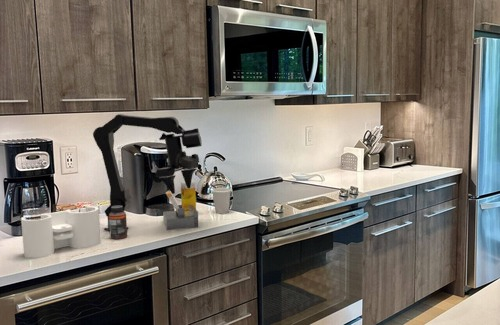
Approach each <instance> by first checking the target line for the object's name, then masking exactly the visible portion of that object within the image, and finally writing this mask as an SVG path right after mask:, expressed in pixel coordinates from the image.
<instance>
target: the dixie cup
mask: <svg viewBox="0 0 500 325" xmlns="http://www.w3.org/2000/svg"><path fill="white" fill-rule="evenodd" d="M231 191H232V189H231V188H227V187H219V188H217V187H216V188H212V190H211V192H212V197H213V199H212V200H213V205H214V212H215V214H219V215H224V214H229V210H230V200H231Z"/></svg>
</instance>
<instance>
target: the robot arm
mask: <svg viewBox="0 0 500 325" xmlns="http://www.w3.org/2000/svg"><path fill="white" fill-rule="evenodd" d="M123 126H129V127H139V128H140V127H141V128H151V129H154V130H158V131H161V132H163V133H162V134H161V136H160V137H159V138H158V140H159V141H163V140H164V141H165V148H166V149H165V150H166V153H165V154H164V156H165V158H167V160H168V164H167V165H166V167H162V168H158V169H157V168H156V170H155V177H156V178H158V179H160V180H161V181H162V182H163V183H164V184H165V186H166V188H167V189H168V191H170V193H171V195H175V194H176V189H175V181H174V180H175V178H176V174H175V173H176V172H179V171H180V172H181V174H182V177H183V179H184V181H185V183H186V186H187V188H190V186H191V180H192V179H193V175H194V173H195V172H196V171H197V170H198V169H197V168H199V167H200V166H199V163H200V158H199V154H197V153H192V154H191V155H187V152H186V151H183V147H185V148H186V149H191V148H198V147H202V146H203V143H202V137H201V134H200V130H199V128H197V127H196V128H193V129H188V130H185V129H184V128H183V127H182V126H181V125H180V122H179V120H178V119H177V117H175V116H163V117H147V116H138V115H129V114H122V113H121V114H120V113H119V114H116V115H115V116H114V117H113V118H112V119H111V120H108V122H105V124H104V125H102V126H99V127H96V128H95V129H94V131H93V133H92V136H93V139H94V141H95V142H94V143H95V144H96V146H97V147H98V149H99V150H100V152H101V155H102V159H103V163H104V166H105V171H106V175H107V179H108V183H109V187H110V192H109V202H110V204H109V206H107V208H106V209H105V210H104V213H105V216H106V217H107V227H105V228H104V230H105V231H109V232H110V224H109V214H110V213H111V207H112V206H117V205H120V206H123V211H124V212H125V210H126V208H127V207H128V206H129V205H130V203H131V199H132V197H131V195H130V189H129V188H125V187H124V185H123V183H122V179H121V176H120V175H121V174H120V170H119V167H118V162H117V159H116V158H117V157H116V155H115V151H114V150H115V149H114V145H115V136H114V135H115V133H116V132H118V131H119V129H121V128H122V127H123ZM166 133H168V134H166ZM128 229H129V227H128V226H127V230H128Z"/></svg>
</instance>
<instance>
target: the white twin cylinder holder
mask: <svg viewBox="0 0 500 325" xmlns="http://www.w3.org/2000/svg"><path fill="white" fill-rule="evenodd" d="M20 219H21V233H22V244H23V245H22V246H23V256H24V257H25V258H28V259H41V258H45V257H49V256H51V255H53V254H55V250H56V249H59V248H65V247H70V248H73V249H87V248H92V247H97V246H99V245H101V241H102V240H101V239H102V238H101V226H100V225H101V224H100V223H101V222H100V209H99V207H97V206H91V205H87V206H85V211H83V212H82V211H81V212H75V211H72V210H71V208H70V209H65V210H61V211H56V212H49V213H41V214H40V219H30V220H29V219H27V217H25V216H23V217H21V218H20Z"/></svg>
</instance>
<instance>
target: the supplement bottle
mask: <svg viewBox="0 0 500 325" xmlns="http://www.w3.org/2000/svg"><path fill="white" fill-rule="evenodd" d="M127 221H128V220H127V213H126V212H125V211H123V206H120V205H117V206H112V207H111V213H110V214H109V224H110V231H109V234H110V238H111V239H114V240H121V239H125V238H127V236H128V229H127V227H128V222H127Z"/></svg>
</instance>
